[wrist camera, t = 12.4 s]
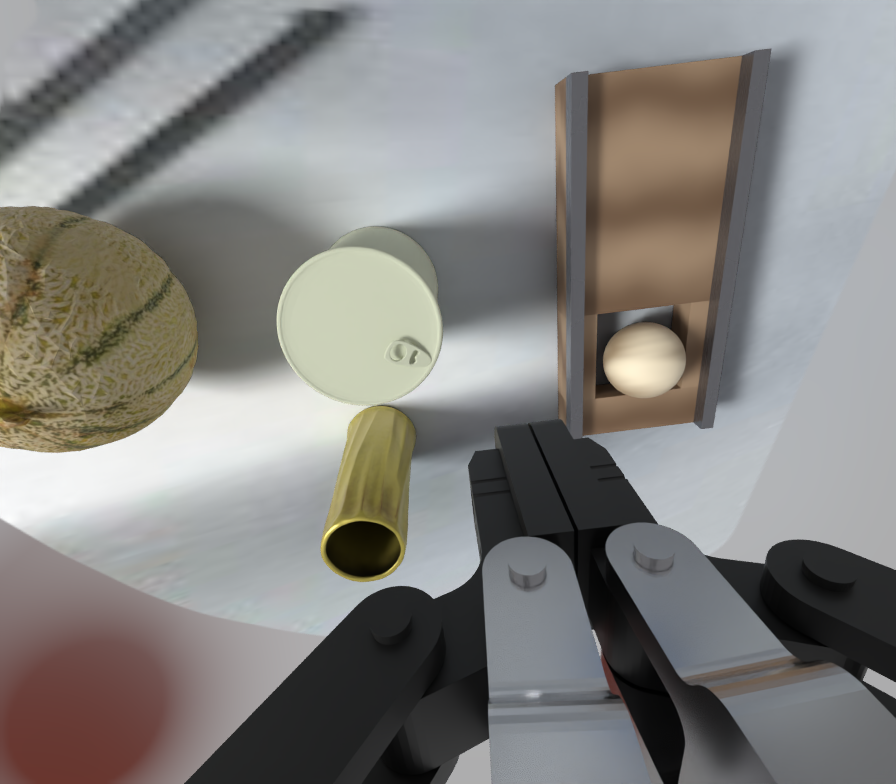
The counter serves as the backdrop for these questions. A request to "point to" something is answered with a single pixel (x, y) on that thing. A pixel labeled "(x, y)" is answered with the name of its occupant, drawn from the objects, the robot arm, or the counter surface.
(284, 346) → the can
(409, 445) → the vase
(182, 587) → the counter surface
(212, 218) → the counter surface
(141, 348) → the cantaloupe
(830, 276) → the counter surface
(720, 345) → the runway
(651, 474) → the counter surface
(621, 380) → the ball
